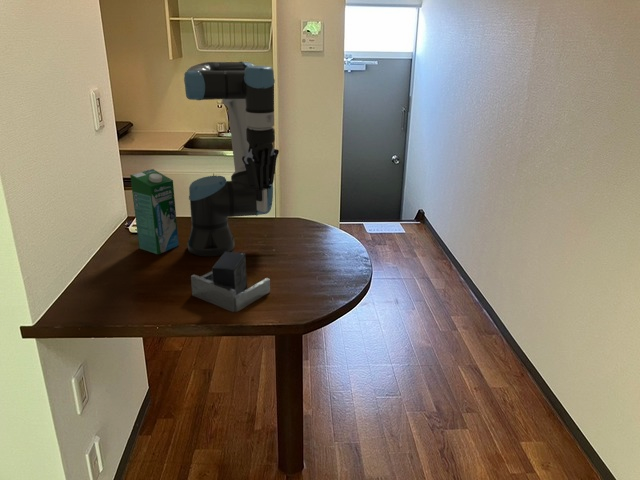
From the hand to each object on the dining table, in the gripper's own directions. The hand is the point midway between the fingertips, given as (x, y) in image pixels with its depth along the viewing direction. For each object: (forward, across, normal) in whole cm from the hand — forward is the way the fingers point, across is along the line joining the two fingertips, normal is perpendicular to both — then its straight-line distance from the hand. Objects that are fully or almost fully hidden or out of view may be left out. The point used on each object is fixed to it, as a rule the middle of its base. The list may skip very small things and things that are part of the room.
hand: (262, 210), depth 150 cm
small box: (+20, -15, -1) cm, 25 cm away
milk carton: (+21, -5, +40) cm, 46 cm away
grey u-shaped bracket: (+20, -14, -1) cm, 24 cm away
